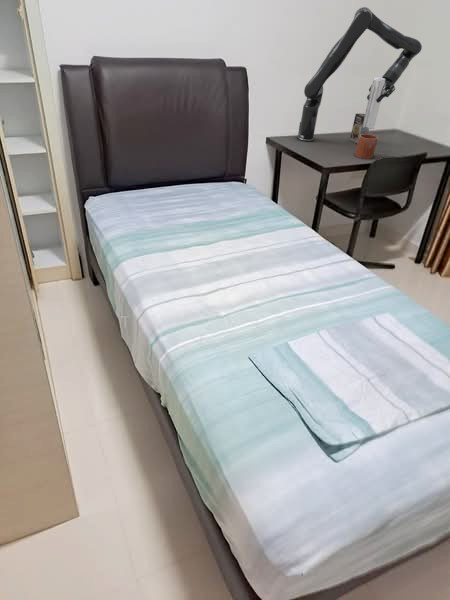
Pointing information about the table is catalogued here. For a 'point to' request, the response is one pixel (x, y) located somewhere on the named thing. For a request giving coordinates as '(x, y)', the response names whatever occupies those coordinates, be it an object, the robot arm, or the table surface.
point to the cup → (366, 146)
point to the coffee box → (358, 128)
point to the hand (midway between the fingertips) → (372, 100)
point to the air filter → (373, 103)
